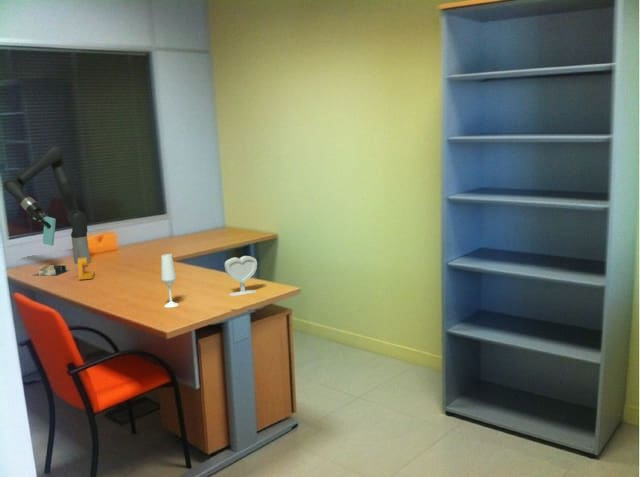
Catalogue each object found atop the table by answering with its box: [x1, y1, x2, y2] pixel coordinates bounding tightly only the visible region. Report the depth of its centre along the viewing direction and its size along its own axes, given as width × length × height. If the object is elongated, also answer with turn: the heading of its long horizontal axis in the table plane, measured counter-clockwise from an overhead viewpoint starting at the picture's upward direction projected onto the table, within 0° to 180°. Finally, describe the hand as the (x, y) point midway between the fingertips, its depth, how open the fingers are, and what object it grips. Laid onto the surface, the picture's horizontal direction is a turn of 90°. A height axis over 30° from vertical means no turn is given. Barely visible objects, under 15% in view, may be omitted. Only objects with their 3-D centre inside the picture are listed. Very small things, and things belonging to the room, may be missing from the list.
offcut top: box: [38, 264, 55, 271], centre depth 356 cm, size 7×4×2 cm, turn 80°
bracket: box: [77, 257, 96, 281], centre depth 348 cm, size 11×7×12 cm, turn 13°
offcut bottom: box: [38, 270, 56, 275], centre depth 357 cm, size 8×4×2 cm, turn 76°
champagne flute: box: [160, 253, 180, 308], centre depth 285 cm, size 7×7×24 cm
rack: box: [31, 264, 71, 277], centre depth 360 cm, size 16×14×4 cm
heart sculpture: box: [224, 255, 258, 297], centre depth 302 cm, size 16×5×18 cm, turn 117°
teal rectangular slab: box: [42, 217, 57, 246], centre depth 360 cm, size 6×2×16 cm, turn 76°
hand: (51, 226), depth 359 cm, fingers closed on teal rectangular slab, 1 cm apart
